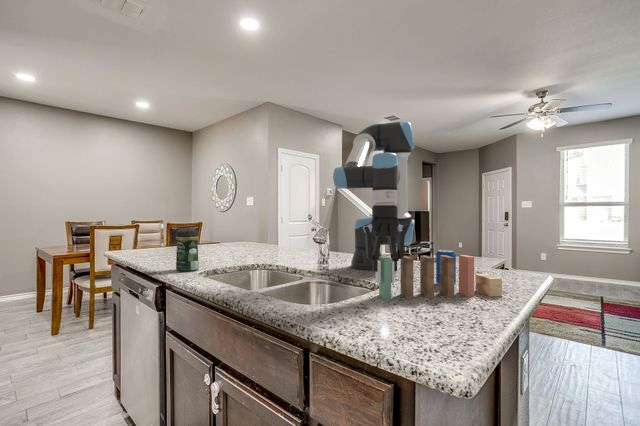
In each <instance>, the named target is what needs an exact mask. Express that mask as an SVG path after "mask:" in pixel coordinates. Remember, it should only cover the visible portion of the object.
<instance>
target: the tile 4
mask: <svg viewBox="0 0 640 426" xmlns="http://www.w3.org/2000/svg"><path fill="white" fill-rule="evenodd" d="M439 294H441V295H443V296H444V297H447V298H455V284H454V257H450V256H447V255H440V285H439Z"/></svg>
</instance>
